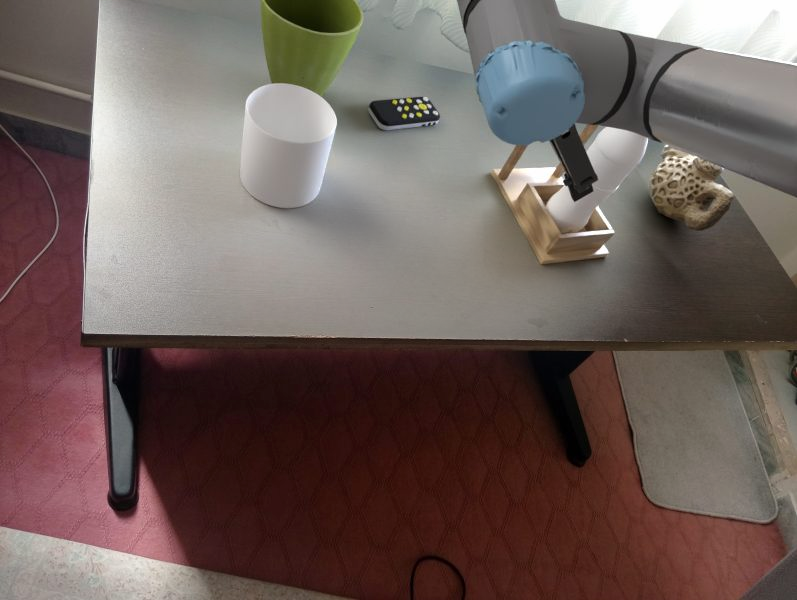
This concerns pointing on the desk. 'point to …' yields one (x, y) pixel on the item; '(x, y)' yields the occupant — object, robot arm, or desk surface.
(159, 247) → the desk surface
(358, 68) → the desk surface
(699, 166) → the teapot
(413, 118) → the remote control
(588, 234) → the rack
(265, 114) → the cup
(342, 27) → the flower pot
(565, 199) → the water bottle
